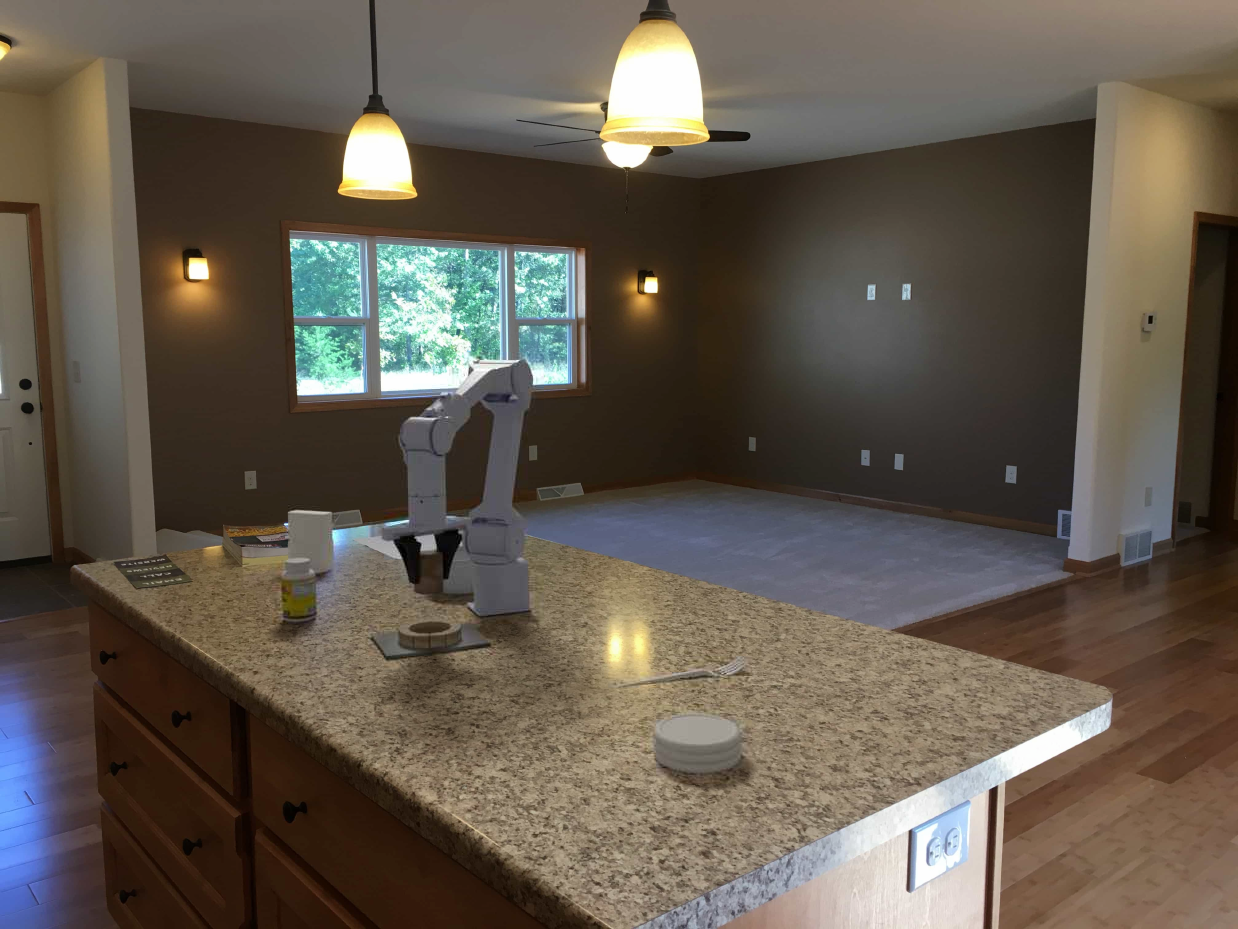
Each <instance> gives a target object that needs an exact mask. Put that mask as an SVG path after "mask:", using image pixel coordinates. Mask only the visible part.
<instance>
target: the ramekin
mask: <svg viewBox="0 0 1238 929" xmlns="http://www.w3.org/2000/svg"><path fill="white" fill-rule="evenodd" d="M432 550H436V551H437V548H433V549H432ZM443 587H444V591H443V592H441V593H440V594H447V595H449V594H450V595H465V594H474V576H473V561H472V560H469V555H467V554H466V552H465V551H464V548H463V545H459V547H458V549H457V551H456V553H455V555H454V558H453V561H452V565H451V569H450V573H449V578H448V579H446V580H444V579H443Z"/></svg>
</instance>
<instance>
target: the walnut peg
mask: <svg viewBox="0 0 1238 929" xmlns="http://www.w3.org/2000/svg"><path fill="white" fill-rule="evenodd" d="M413 588H414V589H413V590H414V593H415V594H419V595H436V594H442V593H441V592H443V591H444V587H443V552H441V551H436V550H433V549H431V550H425V549H424V550H420V557H419V584H413Z"/></svg>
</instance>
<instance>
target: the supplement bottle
mask: <svg viewBox="0 0 1238 929" xmlns="http://www.w3.org/2000/svg"><path fill="white" fill-rule="evenodd" d="M284 568H285V570H284V571H283V572H281V574H280V582H281V583H280V584H281V607H282V608H281V609H282V618H283V620H284V621H286V622H288V623H304V622H309V621H311V620H315V618H317V612H318V611H317V607H318V606H317V584H316V582H317V581H316V578H317V577H316V574H315V572H314V571H313V570H312V569H310V560H309V559H307V558H293V559H289V558H288V559H286V560H285V567H284Z"/></svg>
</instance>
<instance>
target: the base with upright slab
mask: <svg viewBox="0 0 1238 929" xmlns="http://www.w3.org/2000/svg"><path fill="white" fill-rule="evenodd" d="M287 522H288V525H287V526H288V542H287V544H288V546H287V547H288V548H287V549H288V559H293V558H307V559H309V560H310V569H312V570H313V571H314V572H315V573H316V574H321V573H322V572H323V573H327V572H330V571H329V570H331V571H332V569H333V570H334V569H335V551H334V549H335V546H334V538H333V513H332V511H321V510H320V511H318V510H303V509H302V510H300V509H296V510H291V511H288V512H287Z"/></svg>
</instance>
